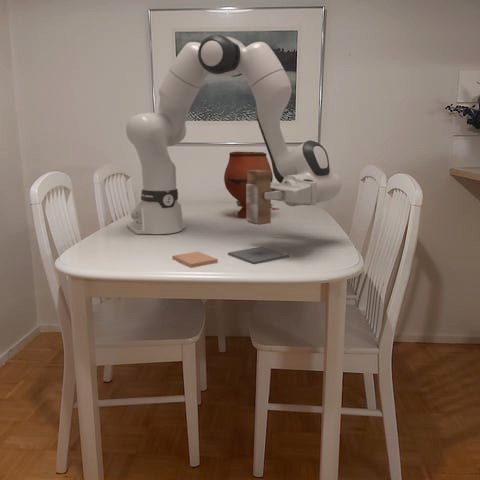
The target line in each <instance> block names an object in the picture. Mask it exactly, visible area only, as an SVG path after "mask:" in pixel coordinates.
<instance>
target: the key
mask: <svg viewBox="0 0 480 480" xmlns="http://www.w3.org/2000/svg"><path fill="white" fill-rule="evenodd" d="M273 206H274V204H273V203H271V211H278V210H279V211H280V208H278V207H273Z"/></svg>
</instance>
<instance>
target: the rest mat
mask: <svg viewBox="0 0 480 480" xmlns="http://www.w3.org/2000/svg"><path fill="white" fill-rule="evenodd" d="M227 256H231V257H234V258H236V259H239V260H241V261H244V262H247V263H250V264H252V265H257V264H261V263H266V262H271V261H272V262H273V261H275V260H276V261H277V260H280V259H286V258H289V257H290V255H289V254H288V253H284V252H280V251H278V250H275V249H271V248H269V247H265V246H262V245H261V246H256V247H251V248H245V249H240V250H236V251H228V252H227Z"/></svg>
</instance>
